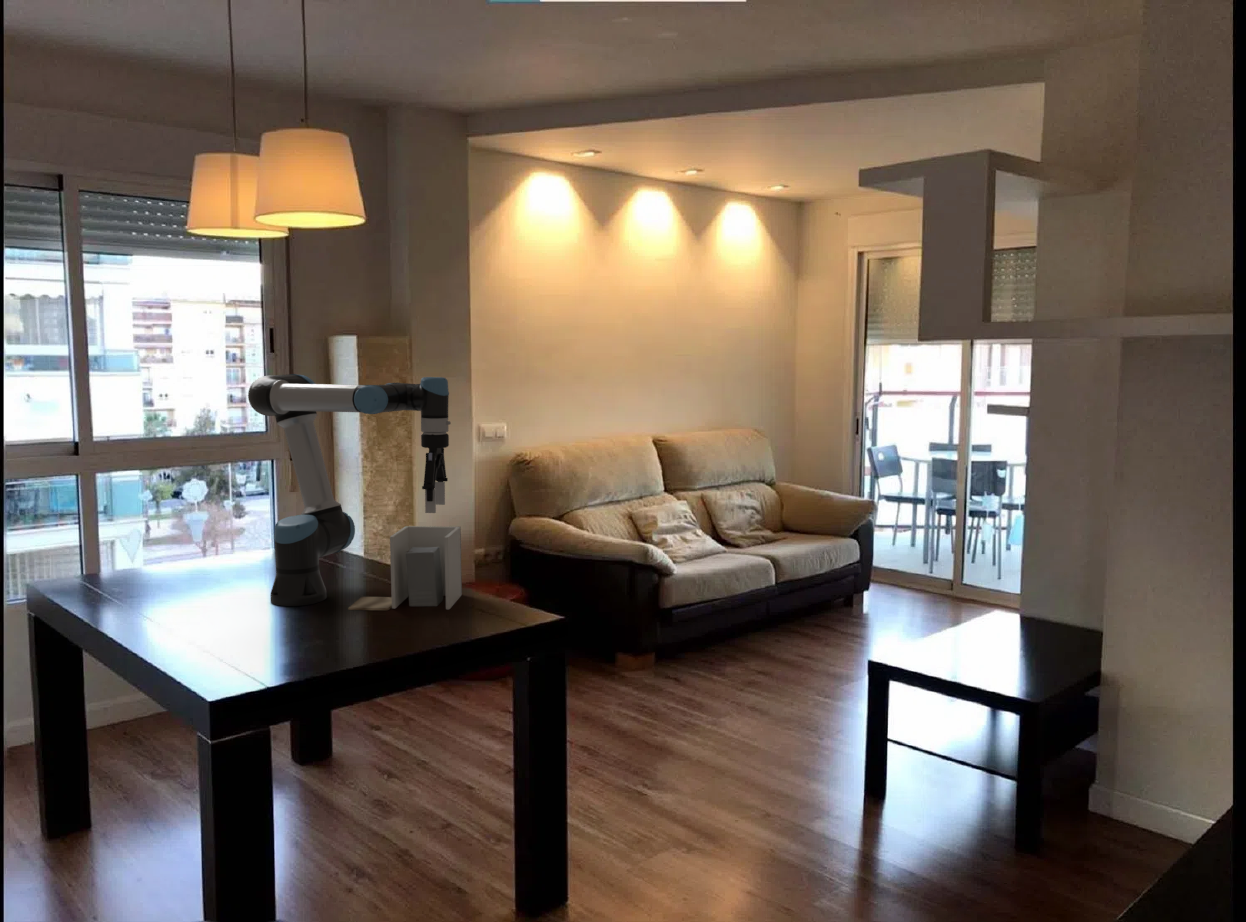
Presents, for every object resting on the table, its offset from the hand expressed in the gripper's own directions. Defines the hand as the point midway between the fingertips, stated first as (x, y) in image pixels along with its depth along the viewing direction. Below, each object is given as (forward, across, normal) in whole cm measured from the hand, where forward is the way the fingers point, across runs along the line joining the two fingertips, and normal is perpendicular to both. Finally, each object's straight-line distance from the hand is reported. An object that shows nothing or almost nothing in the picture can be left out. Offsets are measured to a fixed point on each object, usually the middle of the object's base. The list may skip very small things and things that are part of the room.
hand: (435, 508), depth 281 cm
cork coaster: (+27, -5, +16) cm, 31 cm away
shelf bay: (+26, -1, +2) cm, 26 cm away
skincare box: (+27, -4, +2) cm, 27 cm away
